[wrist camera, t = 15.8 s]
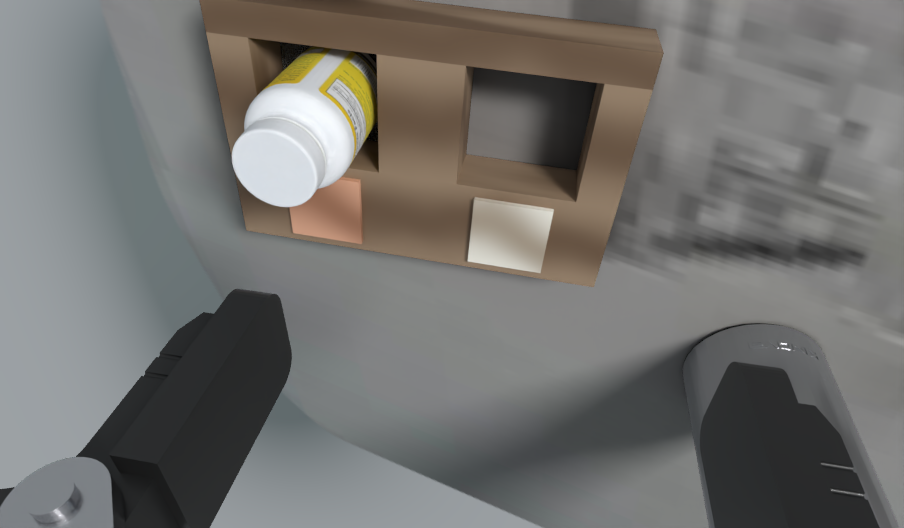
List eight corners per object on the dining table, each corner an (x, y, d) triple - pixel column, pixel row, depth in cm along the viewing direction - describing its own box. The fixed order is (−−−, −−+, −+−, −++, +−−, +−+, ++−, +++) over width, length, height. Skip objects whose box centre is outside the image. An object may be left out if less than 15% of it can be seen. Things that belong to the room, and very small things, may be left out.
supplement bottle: (291, 108, 34) (210, 194, 27) (305, 21, 31) (218, 91, 23) (375, 142, 35) (319, 236, 27) (399, 60, 31) (343, 141, 24)
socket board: (592, 252, 37) (593, 290, 34) (269, 201, 39) (244, 233, 36) (655, 29, 28) (664, 55, 25) (232, -22, 30) (195, -3, 27)
